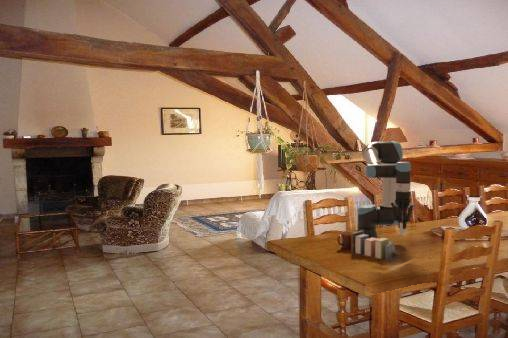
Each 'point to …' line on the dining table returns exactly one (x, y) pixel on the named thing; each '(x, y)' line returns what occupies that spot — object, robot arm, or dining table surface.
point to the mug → (345, 240)
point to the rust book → (369, 247)
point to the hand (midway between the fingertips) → (402, 234)
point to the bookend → (390, 252)
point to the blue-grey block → (360, 243)
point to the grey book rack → (363, 254)
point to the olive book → (380, 247)
